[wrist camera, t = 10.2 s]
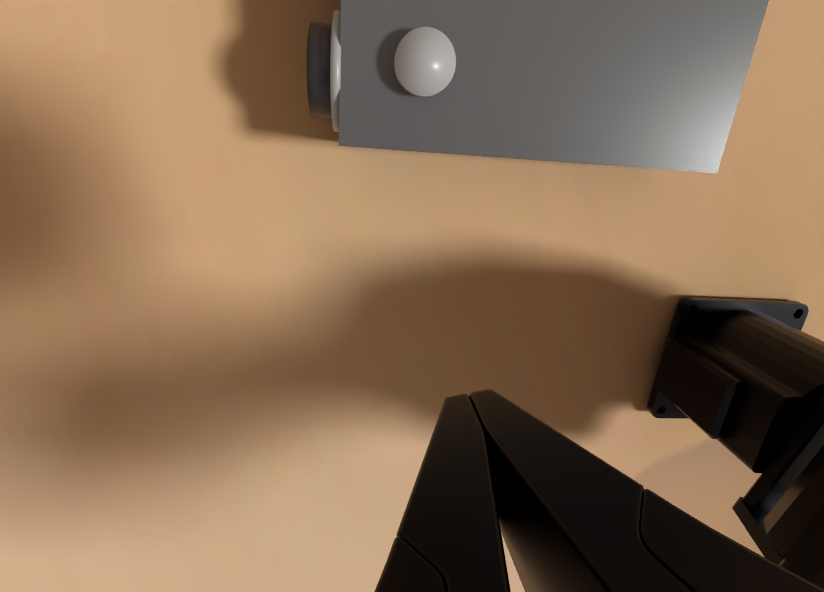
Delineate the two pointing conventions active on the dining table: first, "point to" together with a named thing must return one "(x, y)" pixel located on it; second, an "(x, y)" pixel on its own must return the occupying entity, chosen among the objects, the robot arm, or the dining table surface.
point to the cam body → (537, 78)
